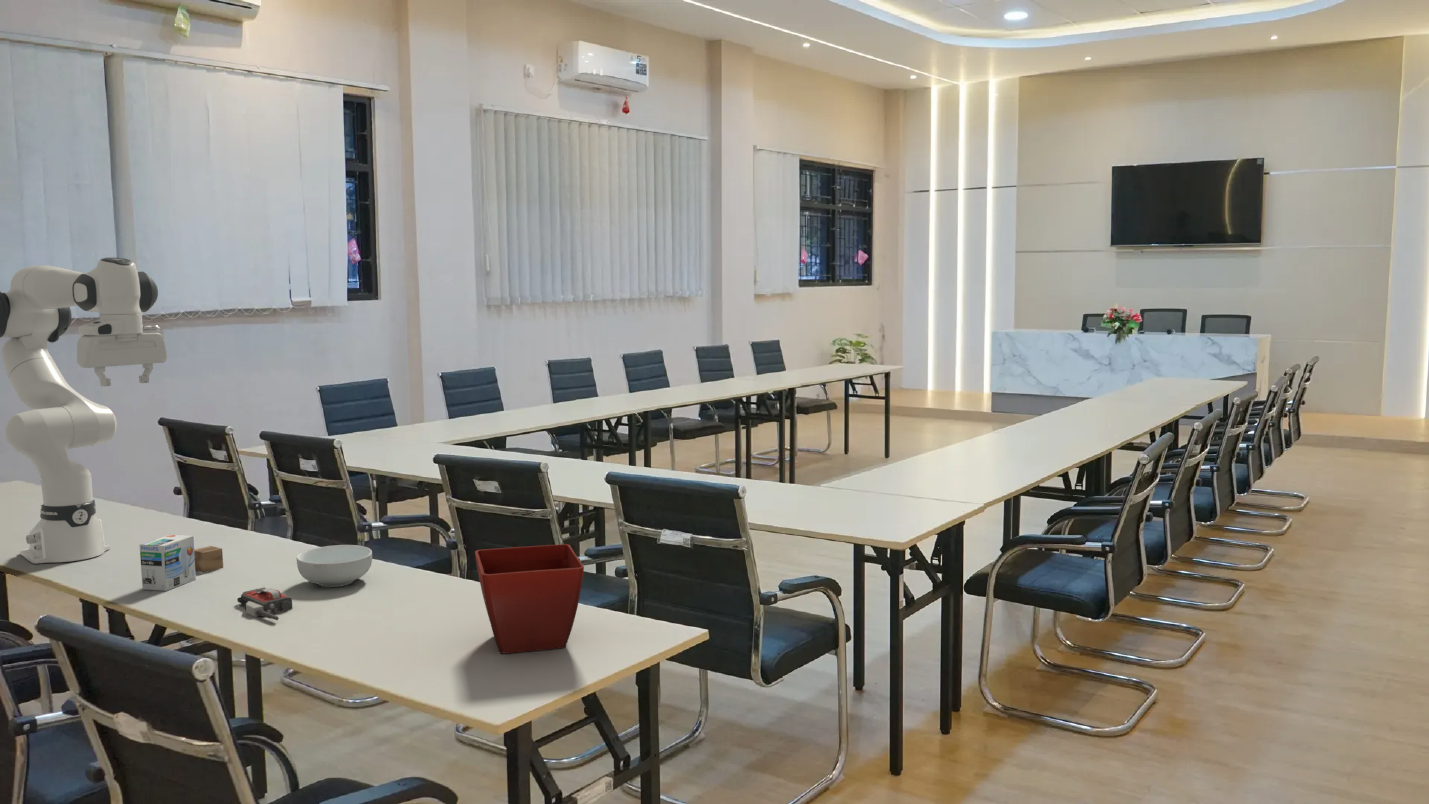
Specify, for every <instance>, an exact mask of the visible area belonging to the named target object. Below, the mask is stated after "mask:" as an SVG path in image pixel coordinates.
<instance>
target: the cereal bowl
mask: <svg viewBox="0 0 1429 804" xmlns="http://www.w3.org/2000/svg"><path fill="white" fill-rule="evenodd" d="M372 563H373V551H372V549H370V547H367V546H363V545H356V544H355V545H354V544H338V545H337V544H336V545H326V546H320V547H316V548H312V549H308V550H306V551H302V552H300V553H299V554H298V555H297V556H296V566H297V570H298V572H299V574H300V576H301V577H302V578H303V579H304V580H306V581H308V582H310V583H314V584H318V585H319V586H320V585H321V587H324V586H326V587H327V588H334V587H336V588H337V587H343V586H342V585H344V586H348V585H350V584H352V583H354V581H355V580H359V578H361V577H364V575H366V574H367V573H368V571H369V570H370V568H371V566H372ZM326 587H325V588H326Z"/></svg>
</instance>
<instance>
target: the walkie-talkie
mask: <svg viewBox="0 0 1429 804" xmlns="http://www.w3.org/2000/svg"><path fill="white" fill-rule="evenodd" d="M236 601H237V602H238V603H240V604H241V607H244V608H245V613H246V614H248V615H251V617H254V618H256V617H259V616H262V617H263V618H268V619H272V620H275V621H278V620H279V618H280V617H279V616H278V615H275V614H276V613H279V612H280V613H281V612H285V611H288V610H293V597H291V596H288V595H286V594H283V593H282V592H280V590H278V589H276V588H273V587H267V588H266V586H261V587H258V588H255V589H251V590H246V591H243V592H242V594H241V595H240V597H238V598H237V600H236Z"/></svg>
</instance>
